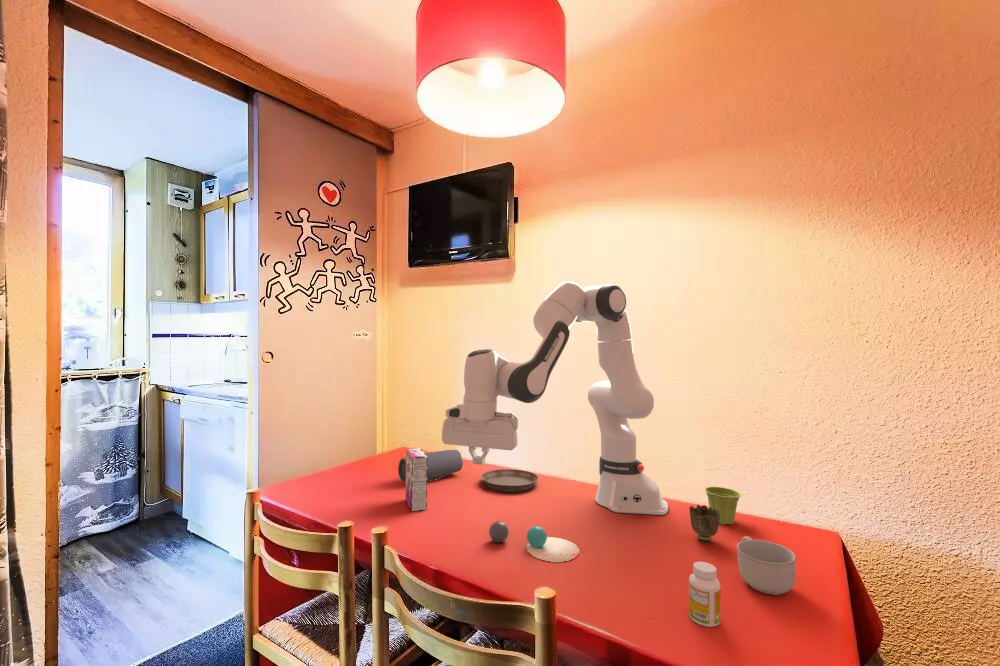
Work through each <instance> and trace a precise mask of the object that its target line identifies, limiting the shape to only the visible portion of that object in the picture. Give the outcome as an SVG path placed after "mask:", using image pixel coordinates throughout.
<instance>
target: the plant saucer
mask: <svg viewBox="0 0 1000 666" xmlns="http://www.w3.org/2000/svg"><path fill="white" fill-rule="evenodd" d="M480 477H481V480H482V481H483V483H484V485H486V486H487V487H488V488H490V489H492V490H495V491H499V492H503V493H505V492H507V493H516V492H517V493H518V492H525V491H528V490H530V489H531V488H532V487H534V486H535V485H536V484H537V482H538V481H539V476H538V475H537V474H536V473H534V472H531V471H527V470H522V469H512V468H511V469H510V468H508V469H507V468H506V469H503V468H502V469H494V470H490V471H489V470H488V471H486V472H484V473H482V474H481V476H480Z"/></svg>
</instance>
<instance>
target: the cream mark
mask: <svg viewBox="0 0 1000 666" xmlns="http://www.w3.org/2000/svg"><path fill="white" fill-rule="evenodd" d="M573 546H574V547H573ZM577 547H578V546H577V545H576V544H575V543H574V542H572V541H569V540H567V539H564V538H560V537H552V536H547V540H546V543H545V544H544V545H543V546H542V547H540V548H535V547H532V546H531V545H530V544H529V543H527V545H526V551H527V553H528V552H529V553H530V554H531V555H532V556H531V555H530V554H529V553H528V554H529V555H530V556H531V557H533V556H534V557H533V558H535V557H536V558H535V559H537V558H538V559H537V560H539V559H541V560H540V561H542V560H545V561H544V562H547V561H551V562H550V563H565V562H564V561H567V562H570V561H569V560H571V559H572V558H573V560H575V559H574V556H573V555H572V554H574V553H575V554H576V553H579V554H580V549H579V547H578V548H577ZM540 553H541V554H540ZM543 553H544V554H543ZM548 553H549V554H548ZM535 554H538V555H535ZM542 554H543V555H545V554H548V555H547V556H546V555H545V556H546V557H545V556H543V555H542ZM550 554H551V555H550ZM553 554H554V555H553ZM560 554H562V555H560ZM567 554H568V555H567ZM570 554H571V555H572V556H573V557H572V556H571V555H570ZM552 555H553V556H552ZM543 557H544V558H543ZM571 557H572V558H571ZM571 561H572V560H571Z"/></svg>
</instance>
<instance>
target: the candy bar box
mask: <svg viewBox="0 0 1000 666" xmlns="http://www.w3.org/2000/svg"><path fill="white" fill-rule="evenodd" d="M425 453H426V452H424V450H422V448H421V447H417V448H416V447H415V448H406V449H405V457H406V482H405V501H406V503H407V505H408V508H409V509H410V511H411V512H412V511H416V512H419V511H418V510H422V511H427V510H428V509H427V508H428V506H427V505H428V503H427V501H428V497H427V496H428V482H427V458H428V457H427V456H426V454H425Z"/></svg>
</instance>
